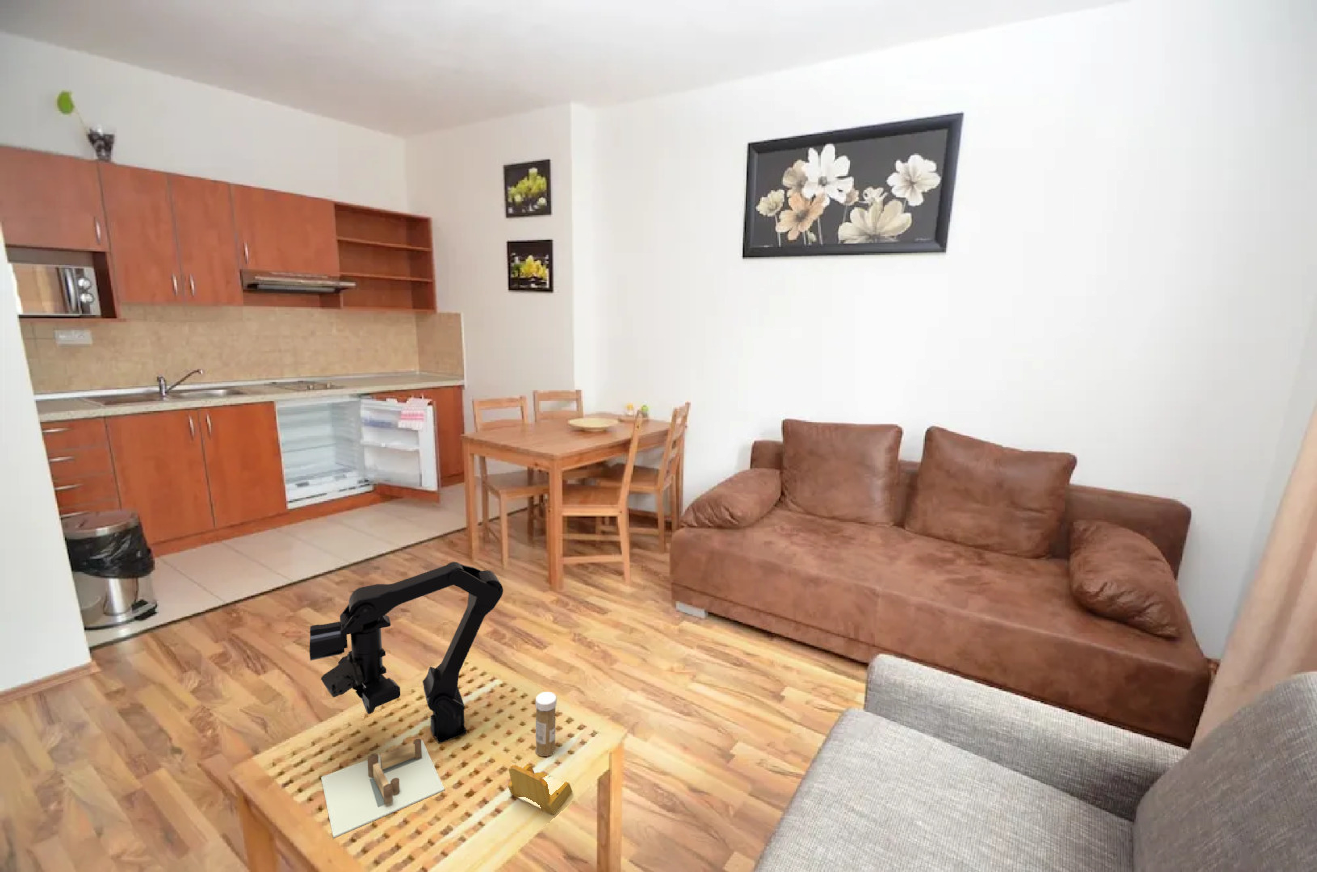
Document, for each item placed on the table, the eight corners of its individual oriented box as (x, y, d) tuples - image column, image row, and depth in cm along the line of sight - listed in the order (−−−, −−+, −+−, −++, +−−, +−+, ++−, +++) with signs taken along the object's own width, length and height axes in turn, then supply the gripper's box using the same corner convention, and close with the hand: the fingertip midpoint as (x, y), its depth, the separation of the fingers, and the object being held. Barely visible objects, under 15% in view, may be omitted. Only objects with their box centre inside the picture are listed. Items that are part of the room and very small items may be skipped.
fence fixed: (420, 753, 126) (419, 736, 125) (432, 781, 119) (431, 762, 118) (367, 774, 120) (366, 755, 119) (376, 804, 113) (375, 785, 112)
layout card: (422, 740, 130) (422, 739, 130) (444, 790, 117) (444, 788, 117) (321, 778, 118) (321, 776, 118) (333, 838, 105) (333, 836, 105)
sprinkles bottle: (558, 753, 128) (559, 699, 126) (539, 760, 126) (540, 706, 123) (550, 740, 132) (551, 688, 130) (532, 747, 130) (532, 694, 127)
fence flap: (372, 778, 118) (371, 764, 117) (380, 774, 119) (379, 761, 118) (385, 805, 111) (384, 791, 111) (394, 801, 112) (393, 787, 112)
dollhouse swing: (574, 790, 119) (575, 751, 117) (546, 824, 110) (546, 783, 108) (533, 771, 123) (534, 733, 121) (503, 803, 115) (503, 763, 113)
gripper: (310, 643, 121) (314, 708, 124) (341, 682, 109) (345, 754, 112) (365, 625, 129) (368, 687, 132) (400, 660, 117) (402, 727, 120)
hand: (370, 712), depth 124 cm, fingers closed
